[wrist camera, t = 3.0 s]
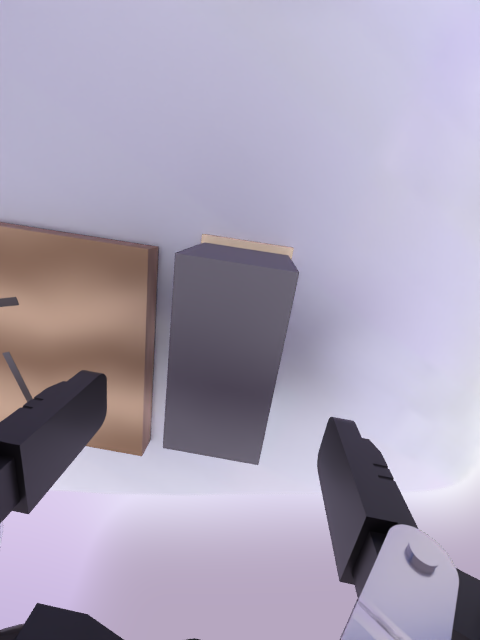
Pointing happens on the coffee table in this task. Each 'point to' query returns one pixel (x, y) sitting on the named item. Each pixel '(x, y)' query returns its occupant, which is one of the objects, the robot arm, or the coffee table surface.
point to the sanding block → (226, 345)
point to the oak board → (79, 324)
